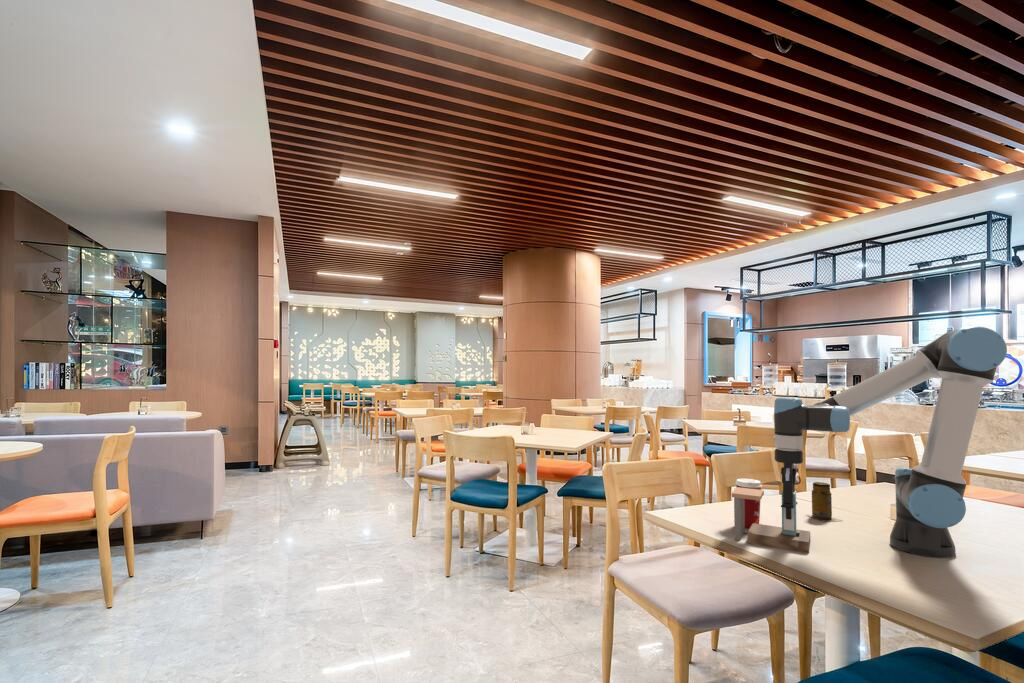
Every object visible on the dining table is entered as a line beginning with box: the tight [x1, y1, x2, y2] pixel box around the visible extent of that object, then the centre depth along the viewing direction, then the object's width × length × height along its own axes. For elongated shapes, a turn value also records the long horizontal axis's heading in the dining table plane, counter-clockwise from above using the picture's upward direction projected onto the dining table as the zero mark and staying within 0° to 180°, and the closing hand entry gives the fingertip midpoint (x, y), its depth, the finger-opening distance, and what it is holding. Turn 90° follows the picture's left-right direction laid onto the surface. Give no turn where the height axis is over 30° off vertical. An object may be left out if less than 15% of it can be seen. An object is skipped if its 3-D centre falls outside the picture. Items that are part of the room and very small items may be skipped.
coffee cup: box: [734, 478, 763, 530], centre depth 176 cm, size 8×8×15 cm
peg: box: [781, 490, 798, 536], centre depth 158 cm, size 4×4×12 cm
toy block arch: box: [731, 487, 765, 541], centre depth 164 cm, size 8×10×14 cm
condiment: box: [806, 481, 842, 523], centre depth 186 cm, size 7×8×12 cm
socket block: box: [747, 523, 811, 554], centre depth 159 cm, size 16×12×3 cm
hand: (789, 527), depth 158 cm, fingers closed on peg, 4 cm apart
